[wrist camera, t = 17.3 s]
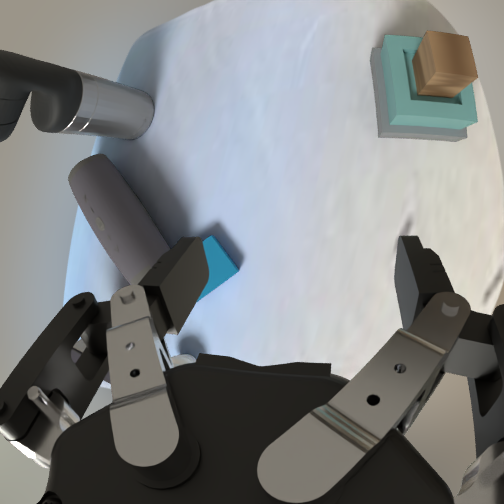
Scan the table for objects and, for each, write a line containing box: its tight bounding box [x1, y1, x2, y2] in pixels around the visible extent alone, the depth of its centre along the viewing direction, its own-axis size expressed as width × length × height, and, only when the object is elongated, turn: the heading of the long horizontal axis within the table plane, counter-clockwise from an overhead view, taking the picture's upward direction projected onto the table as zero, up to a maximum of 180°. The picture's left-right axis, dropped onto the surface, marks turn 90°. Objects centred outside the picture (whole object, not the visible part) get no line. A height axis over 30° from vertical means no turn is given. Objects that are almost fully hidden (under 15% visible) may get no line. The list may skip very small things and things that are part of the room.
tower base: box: [370, 35, 478, 142], centre depth 31 cm, size 12×12×11 cm
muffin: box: [171, 354, 196, 367], centre depth 54 cm, size 6×6×7 cm
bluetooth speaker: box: [68, 154, 170, 285], centre depth 49 cm, size 23×9×10 cm, turn 39°
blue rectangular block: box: [197, 235, 239, 302], centre depth 52 cm, size 7×7×18 cm
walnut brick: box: [412, 31, 478, 98], centre depth 23 cm, size 4×4×8 cm
